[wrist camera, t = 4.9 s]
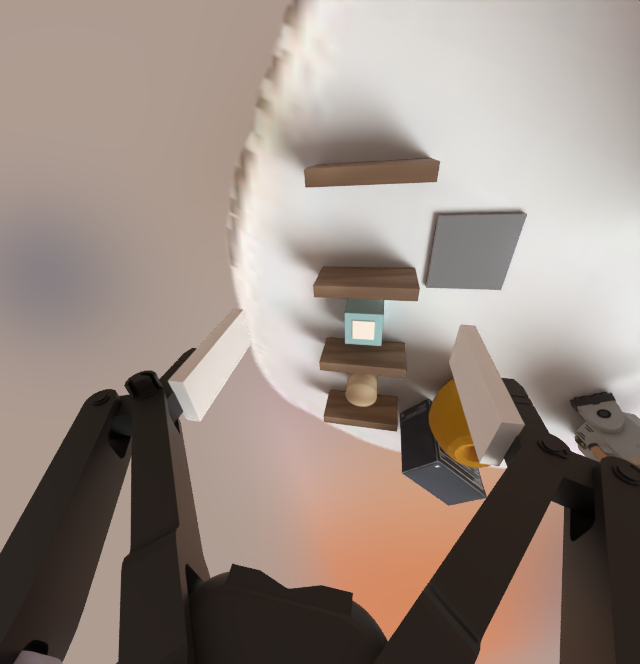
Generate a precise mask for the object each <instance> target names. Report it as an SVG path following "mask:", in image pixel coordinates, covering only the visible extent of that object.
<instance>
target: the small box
mask: <svg viewBox="0 0 640 664" xmlns="http://www.w3.org/2000/svg"><path fill="white" fill-rule="evenodd" d="M431 405H432V401H431V400H427V401H425V402H423V403H421V404H419V405H417V406H415V407H413V408H411V409H409V410H406V411H404V412H403V413H401V414H400V427H401V454H402V473H403V474H404V475H406V476H407V477H408V478H410V479H411V480H413V481H414V482H416V483H417V484H418V485H420V486H421V487H423V488H424V489H426V490H427V491H428V492H430V493H431V494H433V495H434V496H436V497H437V498H439V499H440V500H442V501H443V502H444V503H446V504H447V505H454V504H458V503H463V502H468V501H473V500H478V499H483V498H487V496H486V493H485V490H484V487H483V484H482V480H481V477H480V473H479V469H478V468H477V467H469V466H466V465H463V464H460V463H458V462H456V461H455V460H453V459H452V458H451V457H450V456H449V455H448V454H447V453H446V452H445V451H444V450H443V449H442V448H441V446H440V445H439V443H438V442H437V440H436V439H435V437H434V435H433V433H432V431H431V428H430V425H429V412H430V409H431Z"/></svg>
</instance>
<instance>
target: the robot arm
mask: <svg viewBox="0 0 640 664" xmlns="http://www.w3.org/2000/svg"><path fill="white" fill-rule="evenodd" d="M250 344H251V342H250V337H249V332H248V328H247V323H246V319H245V314H244V310H242V309H232V310H231V311H230V312H229V313H228V314H227V316H226V317H225V318H224V319H223V320H222V321H221V322H220V323H219V324H218V326H217V327H216V328H215V329H214V330H213V331H212V332H211V333H210V334H209V336H208V337H207V338H206V339H205V340H204V341H203V342H202V343H201V344H200V346H199V347H198V348H192V349H190V350H188V351H187V352H185V353H184V354H183V355H182V356H181V357H180V358H179V359H178V361H176V362H175V363H174V365H173V366H171V368H170V369H169V370H168V371H167V372H166V373H165V374H164V375H163V376H162V377H161V378H160V379H158V377H157V375H156V373H155V372H153V371H143V372H139V373H137V374H135V375H133V376H132V377H130V378H129V379H128V380H127V381H126V383H125V385H124V386H125V388H126V389H127V391H128V392H129V394H130V395H124V396H119V395H118V394H117V393H116V391H115V390H112V389H106V390H103V391H99V392H97V393H95V394H93V395H92V396H91V397H89V398H88V399H87V400H86V401H85V403H84V404H83V406H82V408H81V410H80V412H79V414H78V415H77V417H76V419H75V421H74V423H73V424H72V426H71V428H70V430H69V432H68V433H67V435H66V437H65V439H64V440H63V442H62V444H61V446H60V448H59V450H58V451H57V453H56V455H55V456H54V458H53V460H52V462H51V464H50V465H49V467H48V469H47V471H46V473H45V475H44V476H43V478H42V480H41V482H40V483H39V485H38V487H37V489H36V490H35V492H34V494H33V496H32V498H31V499H30V501H29V503H28V505H27V507H26V508H25V510H24V512H23V514H22V515H21V517H20V519H19V521H18V523H17V525H16V526H15V528H14V530H13V532H12V533H11V535H10V537H9V539H8V541H7V542H6V544H5V546H4V548H3V550H2V552H1V553H0V664H62V662H63V660H64V658H65V656H66V653H67V651H68V649H69V646H70V644H71V642H72V639H73V637H74V635H75V632H76V630H77V627H78V624H79V621H80V618H81V615H82V612H83V609H84V606H85V603H86V600H87V597H88V594H89V590H90V587H91V584H92V580H93V578H94V574H95V571H96V568H97V565H98V561H99V558H100V555H101V552H102V548H103V545H104V542H105V539H106V535H107V532H108V529H109V526H110V523H111V519H112V516H113V513H114V510H115V507H116V503H117V500H118V497H119V494H120V490H121V487H122V484H123V481H124V478H125V474H126V471H127V468H128V465H129V461H130V458H131V455H132V459H131V460H132V462H131V549H130V553H129V554H128V555H127V556H126V557H125V558H124V561H123V563H122V570H121V598H120V600H121V601H120V629H119V661H118V662H117V663H116V664H475V661H476V659H477V657H478V654H479V651H480V643H481V640H482V637H483V635H484V633H485V631H486V629H487V627H488V625H489V623H490V621H491V619H492V617H493V615H494V613H495V611H496V609H497V607H498V605H499V603H500V601H501V599H502V597H503V595H504V593H505V591H506V589H507V587H508V585H509V583H510V581H511V579H512V577H513V575H514V573H515V571H516V569H517V567H518V566H519V563H520V561H521V560H522V558H523V556H524V554H525V551H526V550H527V547H528V546H529V544H530V542H531V540H532V538H533V536H534V534H535V532H536V530H537V528H538V526H539V524H540V522H541V520H542V518H543V516H544V514H545V512H546V510H547V508H548V506H549V504H550V502H551V501H553V502H555V503H558V504H560V505H562V506H564V535H563V568H562V602H561V638H560V664H640V468H638V467H637V466H636V465H634V464H632V463H630V462H628V461H627V460H625V459H621V458H618V457H615V456H606V457H604V458H602V459H601V460H600V461H599V462H598V461H595V460H593V459H590V458H587V457H584V456H582V455H579V454H576V453H574V452H572V451H570V448H569V447H568V446H567V445H566V444H565V443H564V442H563V441H562V440H560V439H559V438H557V437H556V436H554V435H551V434H550V433H549V432H548V430H547V428H546V427H545V425H544V423H543V421H542V420H541V418H540V416H539V414H538V413H537V411H536V409H535V407H534V406H533V404H532V402H531V400H530V399H529V398H528V395H527V393H526V392H525V390H524V388H523V387H522V386H521V385H520V384H519V383H517V382H516V381H515V380H514V379H507V378H501V377H500V375H499V373H498V371H497V369H496V367H495V365H494V363H493V361H492V359H491V357H490V355H489V353H488V351H487V349H486V347H485V345H484V343H483V341H482V339H481V337H480V335H479V333H478V331H477V329H476V327H475V326H469V325H460V328H459V331H458V334H457V337H456V341H455V344H454V347H453V350H452V354H451V357H450V360H449V364H450V367H451V371H452V374H453V377H454V381H455V384H456V387H457V391H458V394H459V397H460V401H461V404H462V407H463V410H464V414H465V417H466V420H467V424H468V427H469V430H470V434H471V437H472V440H473V444H474V447H475V450H476V454H477V457H478V460H479V463H481V464H488V465H495V466H499V465H500V464H501V462H502V461H503V459H505V462H506V464H507V469H506V470H505V472H504V473H503V475H502V476H501V478H500V479H499V481H498V482H497V483H496V485H495V486H494V488H493V489H492V491H491V492H490V494H489V495H488V497H487V498H486V500H485V501H484V503H483V504H482V506H481V507H480V508H479V510H478V511H477V513H476V514H475V516H474V517H473V519H472V520H471V522H470V523H469V524H468V526H467V527H466V529H465V530H464V532H463V533H462V535H461V536H460V538H459V539H458V541H457V542H456V543H455V545H454V546H453V548H452V549H451V551H450V552H449V554H448V555H447V557H446V558H445V560H444V561H443V563H442V564H441V565H440V567H439V568H438V570H437V571H436V573H435V574H434V576H433V578H432V579H431V580H430V582H429V583H428V584H427V586H426V587H425V589H424V590H423V591H422V593H421V594H420V596H419V597H418V599H417V600H416V602H415V603H414V605H413V606H412V608H411V609H410V611H409V612H408V614H407V615H406V616H405V618H404V619H403V621H402V622H401V624H400V625H399V627H398V628H397V630H396V631H395V632H394V634H393V635H392V637H391V638H390V640H389V641H387V639H386V637H385V635H384V634H383V632H382V630H381V629H380V627H379V626H378V624H377V623H376V622H375V620H374V619H373V618H372V617H371V616H370V615H369V613H368V612H367V611H366V610H365V609H363V608H362V607H361V606H360V605H358V604H357V603H356V602H354V601H352V596H353V593H351V592H347V591H343V590H338V589H334V588H330V587H326V586H322V585H321V586H311V587H302V588H293V589H288V588H286V587H284V586H282V585H281V584H279V583H278V582H276V581H275V580H274V579H272V578H271V577H269V576H268V575H266V574H265V573H263V572H262V571H260V570H256V569H252V568H247V567H243V566H239V565H235V564H232V566H231V569H230V572H226V573H222V574H219V575H217V576H214V577H212V578H210V575H209V572H208V568H207V566H206V563H205V560H204V556H203V552H202V546H201V541H200V534H199V529H198V522H197V516H196V511H195V505H194V499H193V493H192V487H191V481H190V475H189V469H188V464H187V458H186V452H185V446H184V440H183V434H182V428H181V423H180V420H179V417H180V415H181V414H182V413H184V415H185V417H186V419H187V420H193V421H201V419H202V418H203V416H204V415H205V413H206V412H207V410H208V409H209V407H210V406H211V404H212V403H213V401H214V399H215V398H216V396H217V395H218V393H219V392H220V390H221V389H222V387H223V386H224V384H225V383H226V381H227V380H228V378H229V376H230V375H231V373H232V372H233V370H234V369H235V367H236V366H237V364H238V363H239V361H240V360H241V358H242V357H243V355H244V354H245V352H246V350H247V349H248V347H249V346H250Z"/></svg>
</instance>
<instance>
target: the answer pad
mask: <svg viewBox="0 0 640 664" xmlns="http://www.w3.org/2000/svg"><path fill="white" fill-rule="evenodd" d="M526 216H527V214H526V213H504V214H453V215H438V218H437V224H436V230H435V235H434V241H433V247H432V253H431V259H430V264H429V270H428V276H427V282H426V288H459V289H491V290H501V288H502V285H503V282H504V280H505V277H506V274H507V271H508V268H509V265H510V262H511V259H512V256H513V253H514V251H515V248H516V245H517V242H518V239H519V236H520V233H521V230H522V227H523V224H524V222H525V219H526Z"/></svg>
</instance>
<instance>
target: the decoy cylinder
mask: <svg viewBox="0 0 640 664" xmlns="http://www.w3.org/2000/svg"><path fill="white" fill-rule="evenodd" d="M377 378H378V375H368V374H358V373H349V375H348V381H347V387H346V393H345V395H346V398H347V400H348V401H349V402H350V403H352V404H354V405H356V406H362V407H363V406H369V405H372V404H373V403H374V402H375V401H376V399H377Z"/></svg>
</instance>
